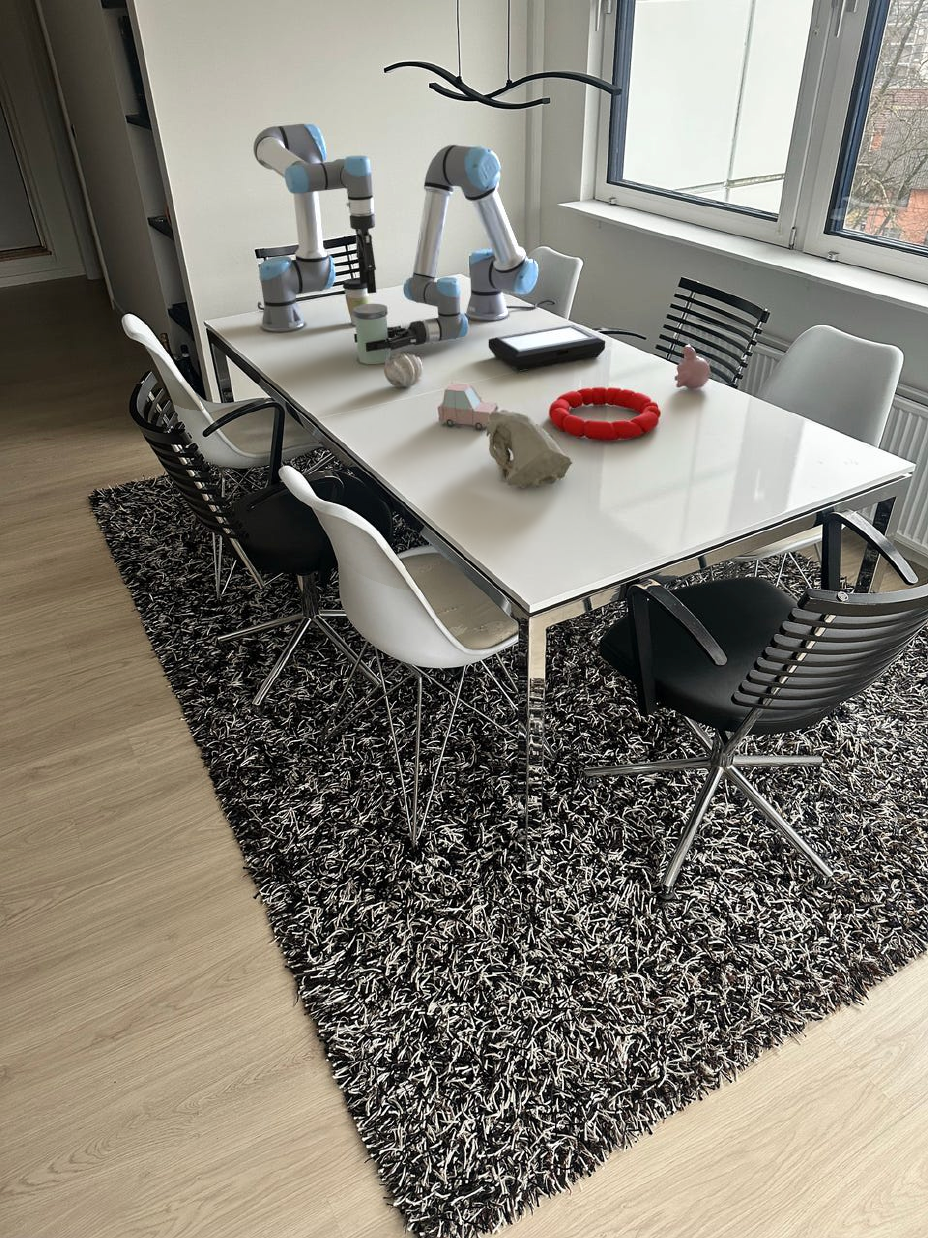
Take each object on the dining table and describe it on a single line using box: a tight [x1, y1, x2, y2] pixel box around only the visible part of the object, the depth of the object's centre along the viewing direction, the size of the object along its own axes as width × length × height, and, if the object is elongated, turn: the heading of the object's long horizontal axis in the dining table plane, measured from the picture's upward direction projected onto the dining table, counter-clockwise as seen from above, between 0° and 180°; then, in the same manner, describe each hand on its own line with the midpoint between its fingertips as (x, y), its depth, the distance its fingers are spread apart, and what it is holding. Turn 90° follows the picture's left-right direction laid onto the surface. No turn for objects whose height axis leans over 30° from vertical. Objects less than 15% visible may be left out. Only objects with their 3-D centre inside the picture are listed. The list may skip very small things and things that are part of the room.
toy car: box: [437, 382, 499, 431], centre depth 243 cm, size 9×15×10 cm, turn 70°
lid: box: [353, 303, 389, 319], centre depth 285 cm, size 11×11×2 cm
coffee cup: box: [342, 277, 370, 326], centre depth 323 cm, size 10×10×15 cm
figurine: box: [674, 344, 711, 390], centre depth 259 cm, size 9×11×12 cm
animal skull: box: [485, 409, 573, 489], centre depth 216 cm, size 17×25×20 cm
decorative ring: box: [548, 386, 661, 442], centre depth 242 cm, size 7×30×30 cm
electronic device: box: [488, 324, 606, 372], centre depth 288 cm, size 32×6×20 cm
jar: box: [355, 315, 390, 365], centre depth 289 cm, size 10×10×16 cm
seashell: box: [383, 352, 424, 388], centre depth 268 cm, size 10×15×10 cm
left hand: (368, 287), depth 280 cm, fingers open, 12 cm apart
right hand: (360, 342), depth 288 cm, fingers closed on jar, 10 cm apart
